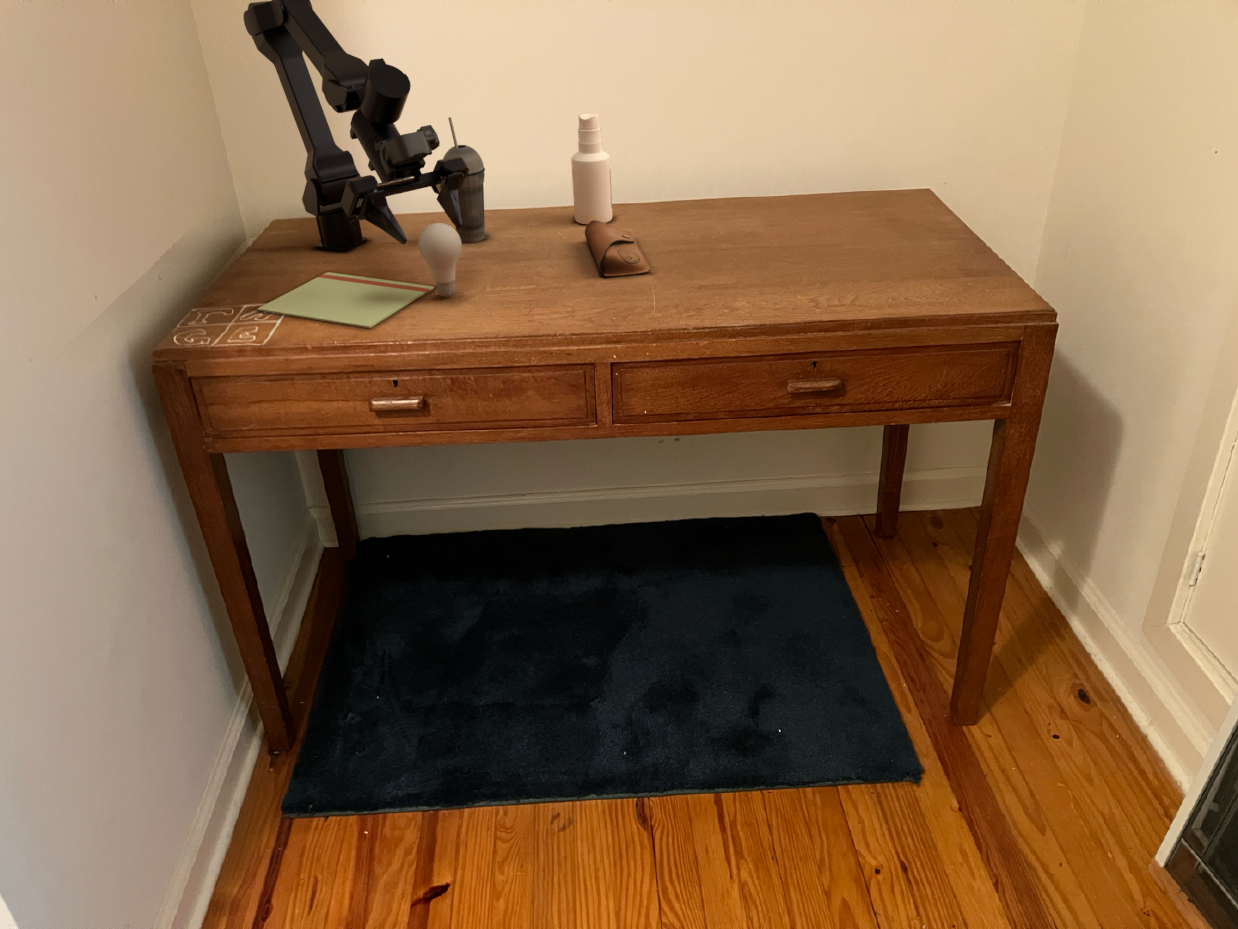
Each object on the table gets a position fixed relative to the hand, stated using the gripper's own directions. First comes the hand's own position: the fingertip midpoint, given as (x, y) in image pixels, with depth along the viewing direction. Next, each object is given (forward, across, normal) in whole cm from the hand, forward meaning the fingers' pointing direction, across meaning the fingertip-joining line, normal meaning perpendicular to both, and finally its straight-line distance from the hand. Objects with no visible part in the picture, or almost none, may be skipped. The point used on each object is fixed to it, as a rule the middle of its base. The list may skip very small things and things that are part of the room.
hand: (433, 235), depth 131 cm
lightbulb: (+8, 0, +6) cm, 9 cm away
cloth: (0, -11, +12) cm, 17 cm away
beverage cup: (-7, +18, +20) cm, 28 cm away
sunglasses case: (+11, +29, +2) cm, 31 cm away
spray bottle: (-2, +39, +15) cm, 42 cm away
